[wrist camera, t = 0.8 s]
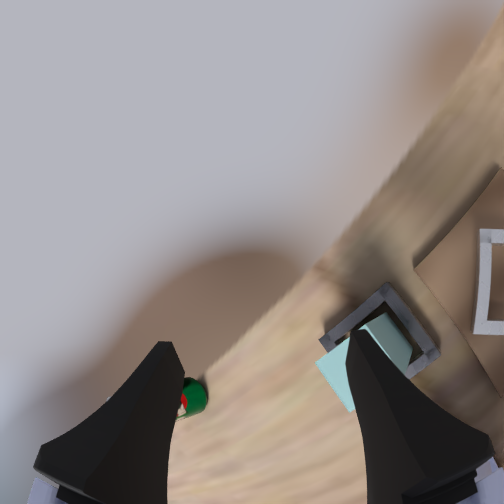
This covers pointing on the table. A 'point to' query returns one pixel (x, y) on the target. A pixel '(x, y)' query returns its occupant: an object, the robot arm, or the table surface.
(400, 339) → the teal peg
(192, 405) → the soda can
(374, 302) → the stand socket
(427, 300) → the table surface
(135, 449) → the robot arm
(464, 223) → the socket board
